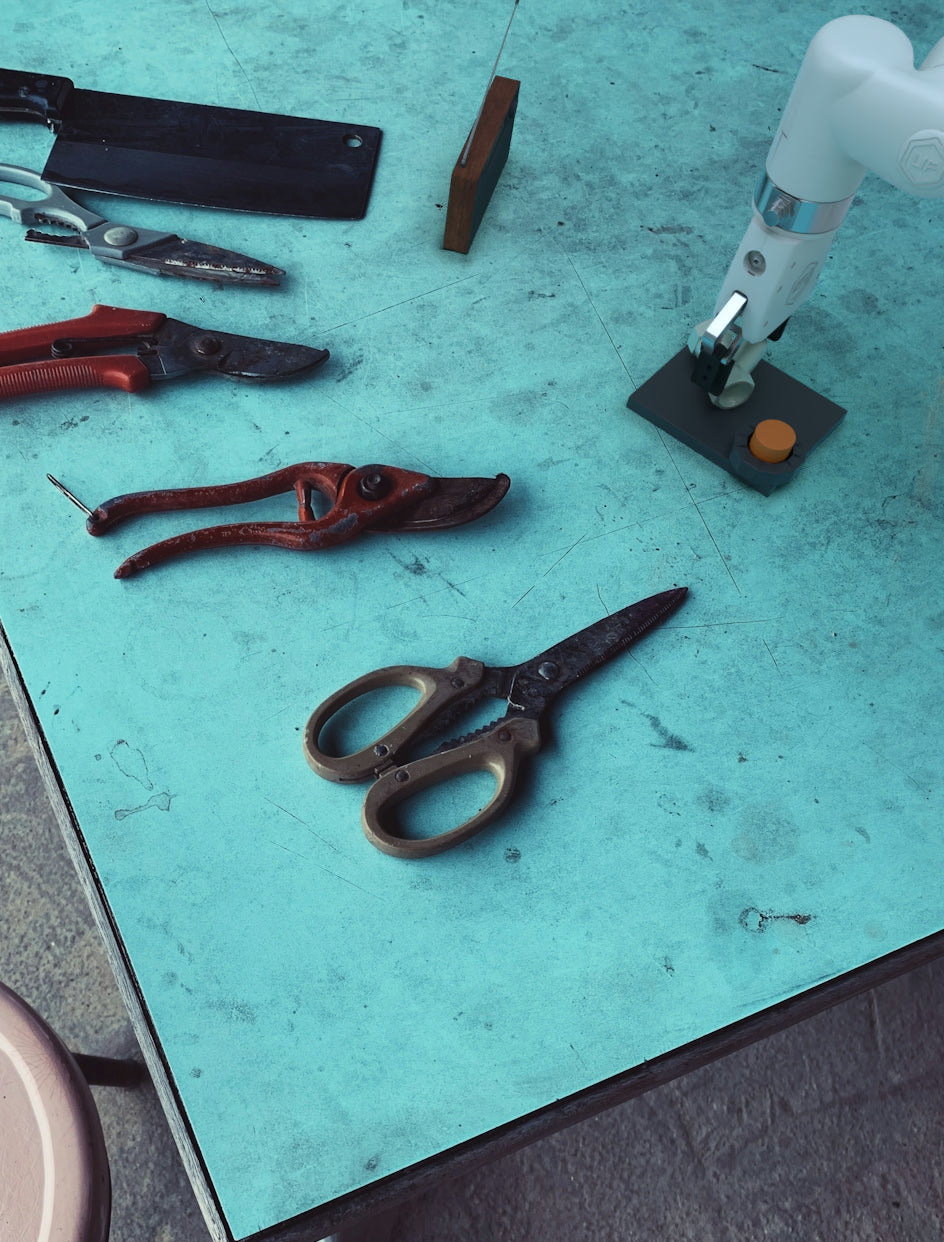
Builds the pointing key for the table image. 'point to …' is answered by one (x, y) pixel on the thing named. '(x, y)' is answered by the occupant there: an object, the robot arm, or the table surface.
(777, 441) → the button
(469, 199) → the radio
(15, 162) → the table surface
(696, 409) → the scale
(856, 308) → the table surface
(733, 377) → the pipe fitting
